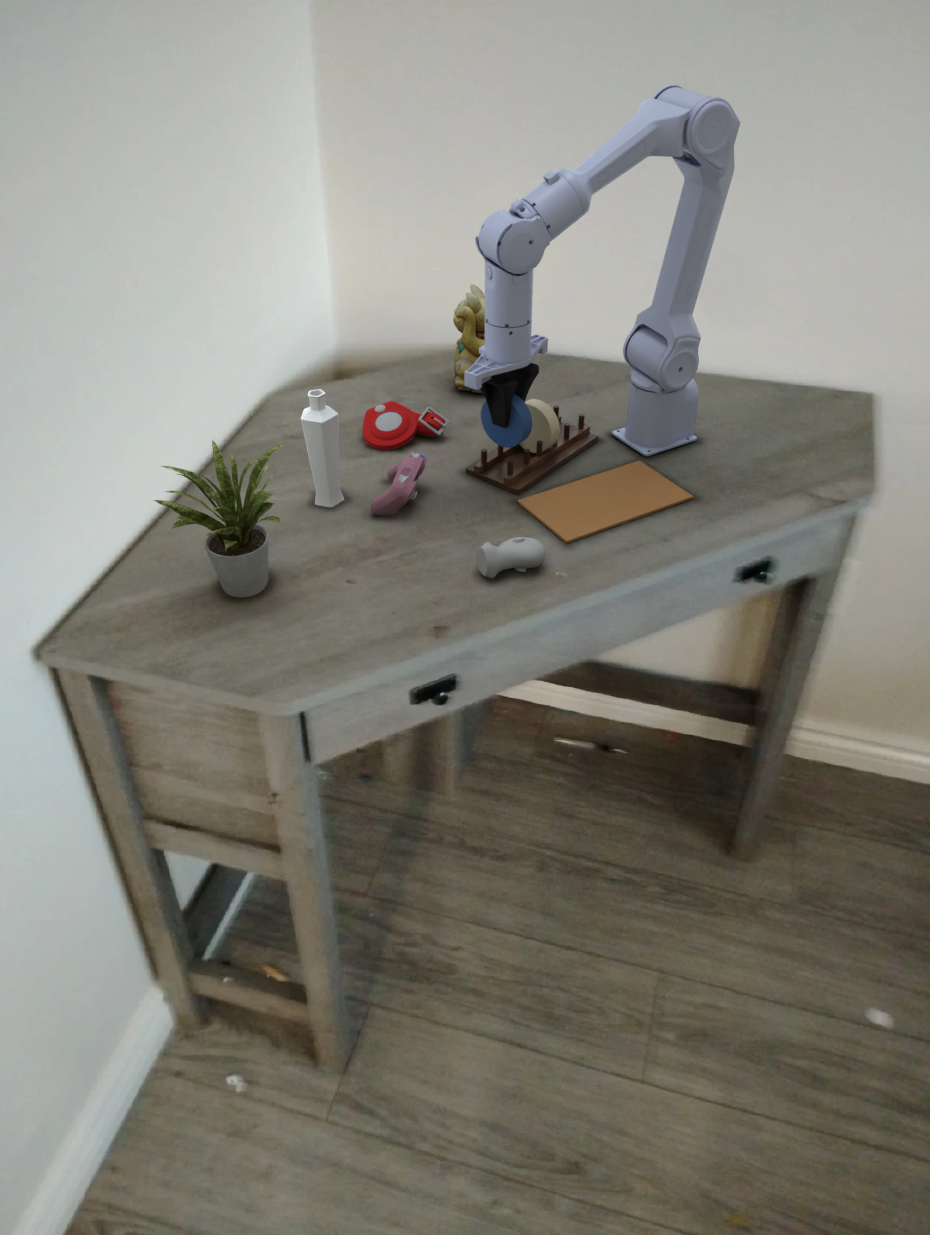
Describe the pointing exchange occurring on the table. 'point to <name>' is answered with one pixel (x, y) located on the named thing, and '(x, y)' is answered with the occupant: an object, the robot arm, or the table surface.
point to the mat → (603, 501)
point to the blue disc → (517, 424)
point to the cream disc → (541, 426)
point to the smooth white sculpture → (510, 556)
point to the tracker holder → (399, 425)
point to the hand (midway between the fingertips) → (506, 421)
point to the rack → (531, 458)
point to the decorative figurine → (469, 333)
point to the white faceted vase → (323, 448)
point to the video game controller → (400, 484)
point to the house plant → (232, 524)
